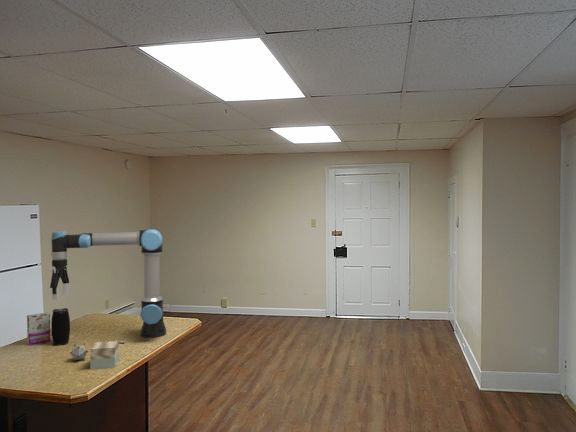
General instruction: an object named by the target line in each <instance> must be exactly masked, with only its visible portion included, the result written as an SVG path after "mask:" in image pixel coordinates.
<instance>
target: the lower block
mask: <svg viewBox="0 0 576 432" xmlns="http://www.w3.org/2000/svg"><path fill="white" fill-rule="evenodd" d="M89 361H90V362H89V363H90V370H101V369H112V368H116V366H117V363H118V362H119V352H118V353H117V355H116V357H115V358H107V359H92V360H90V359H89Z"/></svg>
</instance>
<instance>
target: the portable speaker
mask: <svg viewBox="0 0 576 432" xmlns="http://www.w3.org/2000/svg"><path fill="white" fill-rule="evenodd" d="M51 315H52V316H51V319H50V329H51V339H52V343H53V346H57V345H63V346H65V345H67V344H69V340H70V333H71V319H70V313H69V309H68V308H67V307H64V308H54V309H53V310H52V314H51Z"/></svg>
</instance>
